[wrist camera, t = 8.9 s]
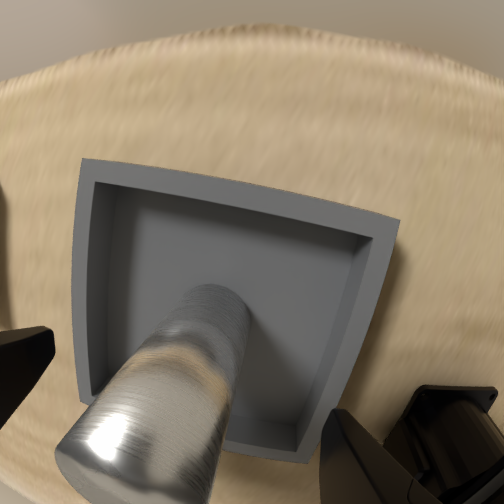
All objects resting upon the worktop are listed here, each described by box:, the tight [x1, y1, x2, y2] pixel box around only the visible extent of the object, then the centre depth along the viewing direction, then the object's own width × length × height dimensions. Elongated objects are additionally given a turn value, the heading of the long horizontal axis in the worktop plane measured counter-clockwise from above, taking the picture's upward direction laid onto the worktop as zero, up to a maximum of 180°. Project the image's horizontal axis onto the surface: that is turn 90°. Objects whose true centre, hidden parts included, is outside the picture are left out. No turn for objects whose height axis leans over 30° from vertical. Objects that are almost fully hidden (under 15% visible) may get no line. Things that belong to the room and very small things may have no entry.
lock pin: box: [55, 284, 251, 504], centre depth 9 cm, size 3×3×9 cm
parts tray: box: [71, 158, 400, 464], centre depth 12 cm, size 12×12×2 cm
